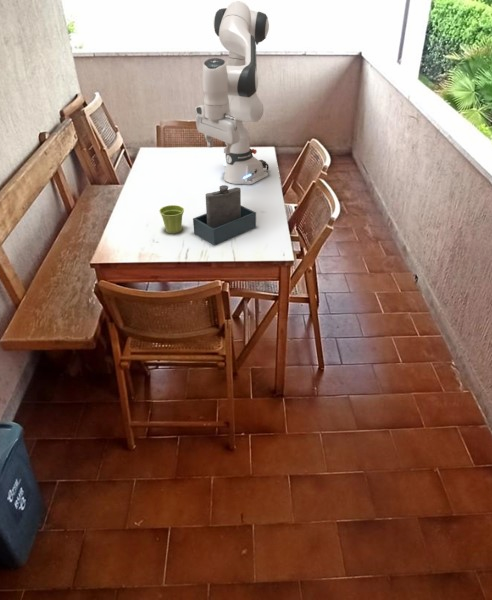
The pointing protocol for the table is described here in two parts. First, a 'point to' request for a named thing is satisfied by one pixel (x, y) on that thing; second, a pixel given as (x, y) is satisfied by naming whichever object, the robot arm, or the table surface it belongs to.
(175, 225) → the plant pot
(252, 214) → the tote
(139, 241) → the table surface
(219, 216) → the flask
